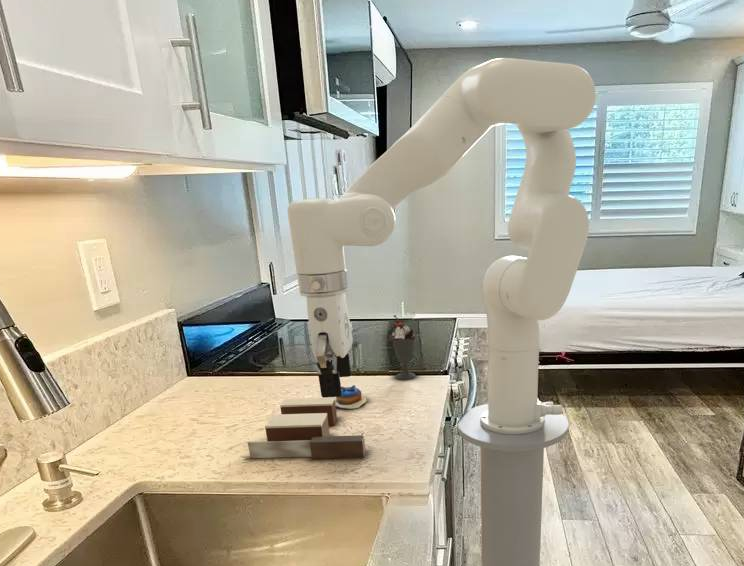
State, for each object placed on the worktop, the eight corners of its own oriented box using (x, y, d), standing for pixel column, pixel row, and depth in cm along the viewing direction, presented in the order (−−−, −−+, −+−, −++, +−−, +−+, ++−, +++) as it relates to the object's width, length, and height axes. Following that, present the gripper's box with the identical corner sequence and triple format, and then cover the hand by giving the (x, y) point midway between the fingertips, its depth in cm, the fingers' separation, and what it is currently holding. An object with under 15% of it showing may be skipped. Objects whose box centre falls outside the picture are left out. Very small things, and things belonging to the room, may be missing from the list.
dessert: (356, 408, 118) (340, 384, 118) (335, 422, 121) (320, 399, 121) (375, 398, 125) (360, 375, 125) (355, 411, 128) (340, 389, 128)
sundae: (391, 373, 142) (387, 313, 136) (418, 371, 142) (415, 311, 137) (391, 381, 136) (387, 319, 130) (419, 379, 136) (416, 317, 130)
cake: (329, 435, 108) (327, 412, 106) (324, 448, 102) (321, 424, 101) (277, 436, 108) (273, 414, 106) (268, 449, 103) (264, 426, 101)
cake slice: (337, 418, 115) (334, 397, 113) (334, 425, 112) (331, 403, 110) (287, 420, 115) (284, 398, 114) (283, 426, 112) (280, 405, 110)
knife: (365, 451, 101) (364, 435, 99) (363, 457, 98) (362, 440, 97) (252, 454, 101) (249, 438, 100) (248, 461, 99) (245, 444, 97)
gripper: (337, 292, 81) (351, 404, 87) (355, 272, 97) (366, 368, 103) (284, 295, 81) (303, 406, 87) (311, 275, 97) (325, 370, 103)
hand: (337, 386), depth 95 cm, fingers open, 9 cm apart
